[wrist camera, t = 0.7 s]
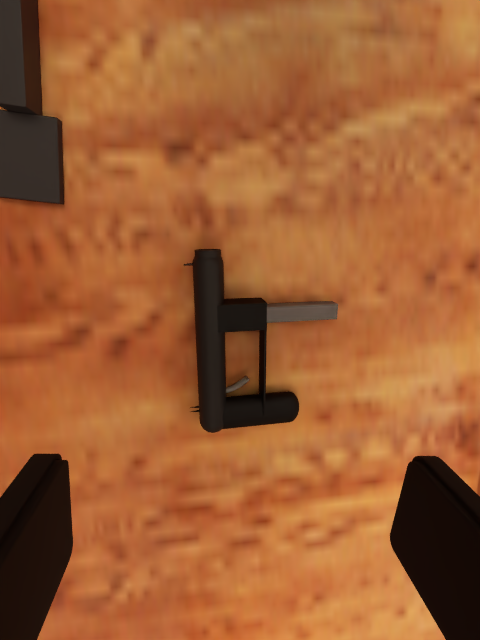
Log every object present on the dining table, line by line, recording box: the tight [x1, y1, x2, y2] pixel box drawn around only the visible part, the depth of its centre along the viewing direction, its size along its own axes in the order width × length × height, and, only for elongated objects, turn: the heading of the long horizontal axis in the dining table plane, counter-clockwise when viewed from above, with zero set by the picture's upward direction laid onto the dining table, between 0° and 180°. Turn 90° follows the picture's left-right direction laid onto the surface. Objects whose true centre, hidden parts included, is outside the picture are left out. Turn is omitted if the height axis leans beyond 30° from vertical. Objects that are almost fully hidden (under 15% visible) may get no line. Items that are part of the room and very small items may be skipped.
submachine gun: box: [184, 249, 338, 433], centre depth 35 cm, size 3×20×16 cm
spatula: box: [0, 0, 64, 204], centre depth 27 cm, size 18×6×3 cm, turn 174°
